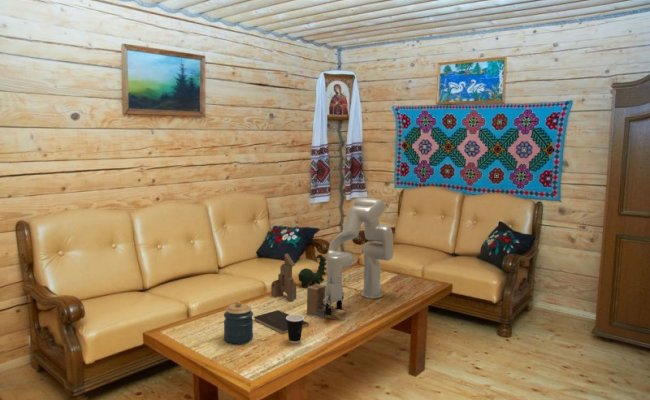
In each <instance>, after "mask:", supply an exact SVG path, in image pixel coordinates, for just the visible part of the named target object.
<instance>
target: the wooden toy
mask: <svg viewBox="0 0 650 400" xmlns="http://www.w3.org/2000/svg"><path fill="white" fill-rule="evenodd" d="M294 266H296V264H295V262H294V261H293V260H292V258H291V256H290V254H289V253H284V263H282V264H281V265H280V268H279V272H280V273H278V275H277V276H278V278H277V279H276V280H272V282H271V288H270V289H271V294H270V296H271V297H274V298H276V297H281V296H282V295H284V293H285V294H286V296H287V301H288V302H293V301H294V300H295V299H297V282H296V281H295V279H294V278H293V267H294Z"/></svg>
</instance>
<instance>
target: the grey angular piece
mask: <svg viewBox="0 0 650 400" xmlns="http://www.w3.org/2000/svg"><path fill="white" fill-rule="evenodd" d="M306 288H307V289H306V290H307V291H306V292H307V293H306V314H307V315H310V316H315V317H318V318H321V319H326V317H325V310H322V309H321V306H322V305H324V302H323V300H324V299H325V288H326V285H323V284H317V283H316V284H315V285H313V284H311V285H310V286H307V287H306ZM331 307H332V308H335V307H334V305H331Z"/></svg>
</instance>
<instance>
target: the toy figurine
mask: <svg viewBox="0 0 650 400" xmlns="http://www.w3.org/2000/svg"><path fill="white" fill-rule="evenodd" d="M315 259H316V260H317V259H319V262H318V267H317V268H318V269H317V270H316V272H313V270H312V269H310V268H303V269H301V270H300V271H299V273H298V275H297V277H298V281H299V282H300V283H301V287H303V288H307V287H309V284H311V285H315V284H320V283H321V282H323V281H324V278H323V276H325V275H327V272H325V270H326V271H327V258H325V257H324V256H323V255H322V254H319V253H318V254H317V255H316V257H315ZM320 285H321V284H320Z"/></svg>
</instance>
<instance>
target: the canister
mask: <svg viewBox="0 0 650 400" xmlns="http://www.w3.org/2000/svg"><path fill="white" fill-rule="evenodd" d="M223 317H224V321H223V340H224V342H225V343H227V344H230V345H234V346H236V345H238V346H239V345H246V344H248V343H251V342H252V341H253V338H254V331H253V329H254V328H253V325H254V319H253V317H254V312H253V311H252V307H251V306H249V305H248V304H246V303H242V302H241V301H240V300H238V301H236V302H235V303H231V304H229V305H228V306H227V307H226V308H225V312H224V313H223Z"/></svg>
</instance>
